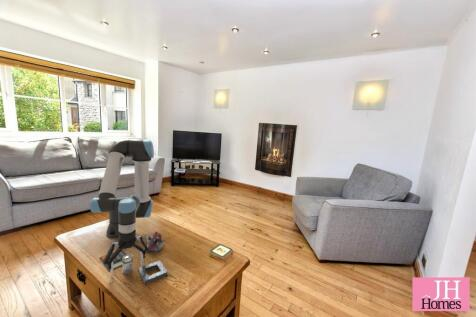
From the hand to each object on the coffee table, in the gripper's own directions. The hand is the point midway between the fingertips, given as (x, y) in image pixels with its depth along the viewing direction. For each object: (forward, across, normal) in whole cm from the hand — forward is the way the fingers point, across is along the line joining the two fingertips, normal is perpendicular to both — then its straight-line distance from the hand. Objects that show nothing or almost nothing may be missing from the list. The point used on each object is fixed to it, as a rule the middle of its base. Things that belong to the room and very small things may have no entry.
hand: (127, 269), depth 105 cm
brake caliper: (+2, +18, +13) cm, 22 cm away
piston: (+1, 0, 0) cm, 1 cm away
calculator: (+2, -3, +13) cm, 13 cm away
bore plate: (+1, +10, -8) cm, 13 cm away
